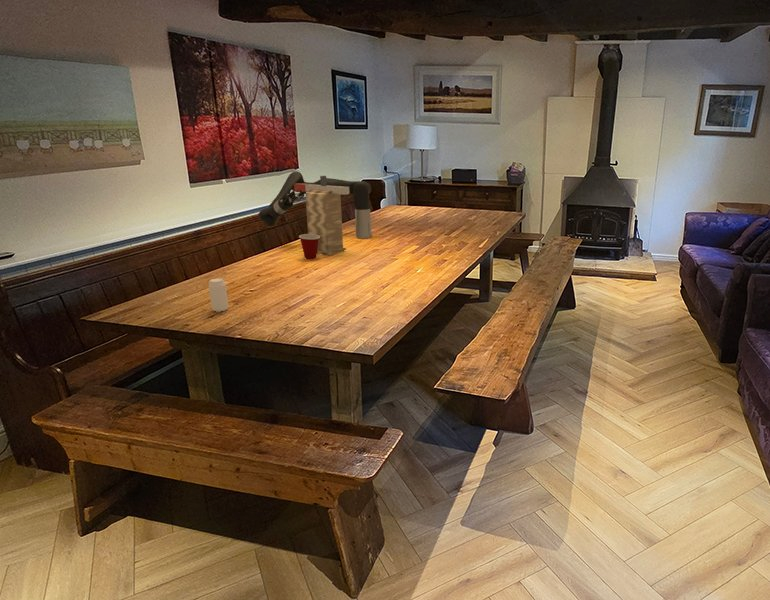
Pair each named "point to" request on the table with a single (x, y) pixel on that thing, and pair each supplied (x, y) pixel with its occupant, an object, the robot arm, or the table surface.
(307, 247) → the plastic cup
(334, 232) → the stand
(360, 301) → the table surface
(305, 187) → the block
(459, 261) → the table surface
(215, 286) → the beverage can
